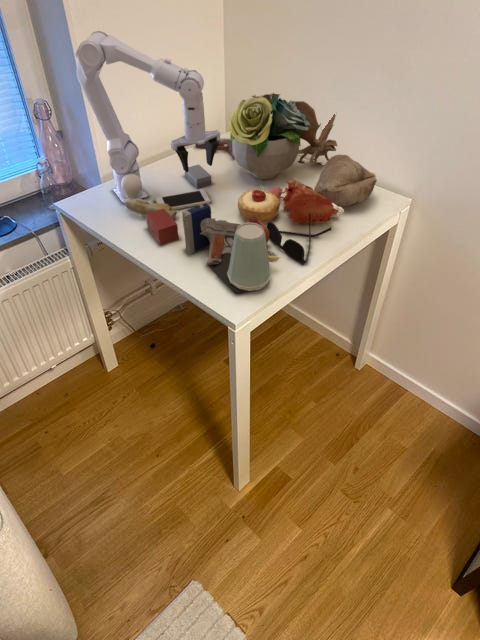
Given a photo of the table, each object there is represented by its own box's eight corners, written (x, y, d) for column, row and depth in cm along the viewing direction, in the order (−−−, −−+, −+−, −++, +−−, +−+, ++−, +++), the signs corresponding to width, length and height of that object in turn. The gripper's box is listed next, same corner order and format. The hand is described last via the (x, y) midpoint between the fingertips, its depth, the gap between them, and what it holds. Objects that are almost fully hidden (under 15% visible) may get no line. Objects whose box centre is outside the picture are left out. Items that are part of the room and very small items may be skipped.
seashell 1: (276, 202, 126) (335, 194, 122) (275, 165, 128) (333, 156, 125) (288, 230, 142) (340, 223, 138) (286, 196, 144) (338, 189, 141)
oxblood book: (146, 220, 135) (145, 213, 134) (164, 214, 137) (164, 208, 135) (159, 236, 129) (158, 230, 128) (178, 230, 131) (177, 224, 130)
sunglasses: (341, 249, 130) (344, 234, 127) (299, 266, 124) (301, 250, 121) (302, 220, 140) (304, 204, 136) (261, 234, 134) (262, 218, 130)
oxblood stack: (147, 229, 137) (146, 220, 135) (166, 223, 139) (164, 214, 137) (160, 245, 131) (158, 236, 129) (179, 239, 133) (178, 230, 131)
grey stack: (184, 176, 160) (184, 167, 157) (199, 172, 161) (198, 164, 159) (197, 188, 154) (196, 179, 152) (211, 184, 156) (211, 175, 153)
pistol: (210, 262, 120) (203, 215, 121) (204, 265, 122) (197, 218, 123) (260, 265, 134) (254, 223, 135) (254, 267, 135) (248, 226, 136)
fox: (227, 254, 120) (229, 247, 120) (240, 267, 128) (241, 260, 128) (273, 256, 115) (275, 249, 115) (284, 269, 123) (285, 262, 123)
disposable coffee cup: (218, 225, 110) (219, 273, 121) (242, 252, 104) (241, 301, 115) (258, 211, 114) (255, 260, 125) (284, 237, 108) (278, 285, 119)
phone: (236, 292, 116) (204, 260, 125) (236, 295, 116) (204, 263, 125) (261, 281, 118) (229, 251, 128) (261, 284, 119) (229, 253, 128)
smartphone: (155, 200, 148) (155, 197, 148) (204, 191, 152) (204, 189, 151) (160, 212, 143) (160, 209, 143) (210, 203, 147) (210, 200, 146)
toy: (266, 240, 131) (259, 241, 131) (277, 256, 125) (269, 256, 125) (265, 244, 132) (258, 245, 131) (276, 260, 126) (269, 261, 126)
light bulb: (117, 208, 143) (117, 173, 138) (128, 204, 148) (128, 170, 144) (134, 212, 141) (135, 177, 137) (145, 208, 147) (145, 174, 142)
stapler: (307, 194, 144) (303, 199, 144) (307, 185, 139) (303, 189, 139) (343, 218, 140) (339, 222, 140) (344, 209, 135) (340, 213, 135)
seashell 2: (392, 177, 140) (359, 139, 135) (358, 222, 138) (323, 185, 133) (361, 184, 154) (330, 150, 149) (330, 224, 153) (298, 191, 148)
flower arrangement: (254, 150, 172) (255, 77, 155) (316, 169, 162) (324, 92, 145) (211, 178, 158) (206, 100, 141) (276, 201, 147) (279, 119, 130)
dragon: (314, 164, 148) (321, 97, 143) (265, 162, 168) (269, 103, 162) (353, 167, 157) (360, 104, 152) (302, 165, 177) (307, 109, 172)
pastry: (232, 221, 139) (231, 193, 133) (245, 201, 147) (245, 174, 141) (272, 229, 136) (273, 201, 130) (284, 208, 144) (285, 180, 138)
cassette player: (208, 240, 133) (206, 201, 124) (213, 244, 131) (211, 205, 123) (185, 250, 130) (180, 210, 121) (189, 254, 128) (185, 214, 120)
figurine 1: (179, 208, 142) (131, 192, 142) (175, 205, 136) (125, 189, 137) (174, 225, 142) (126, 209, 143) (170, 223, 137) (120, 207, 137)
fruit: (245, 261, 126) (245, 228, 119) (233, 245, 131) (232, 212, 124) (273, 254, 128) (275, 221, 121) (260, 238, 133) (261, 205, 126)
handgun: (192, 158, 168) (196, 145, 177) (248, 158, 168) (249, 145, 177) (191, 149, 166) (195, 136, 175) (248, 150, 165) (249, 136, 174)
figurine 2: (295, 217, 143) (306, 198, 145) (293, 210, 140) (304, 191, 142) (260, 205, 148) (271, 188, 150) (257, 199, 145) (269, 180, 147)
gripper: (175, 131, 128) (180, 179, 138) (224, 120, 133) (226, 167, 143) (165, 122, 133) (170, 169, 142) (212, 112, 138) (215, 157, 147)
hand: (197, 167), depth 143 cm, fingers open, 7 cm apart
